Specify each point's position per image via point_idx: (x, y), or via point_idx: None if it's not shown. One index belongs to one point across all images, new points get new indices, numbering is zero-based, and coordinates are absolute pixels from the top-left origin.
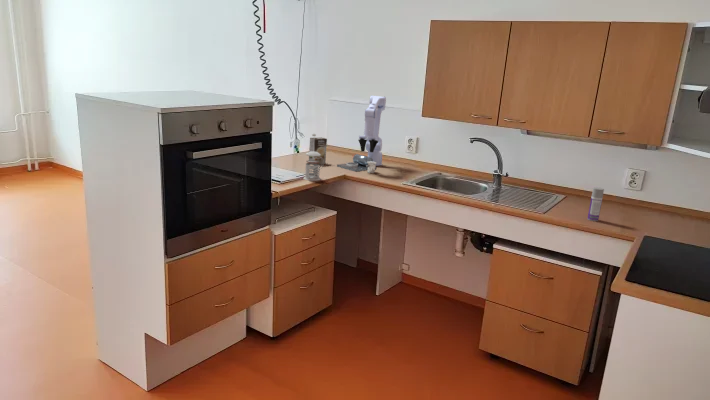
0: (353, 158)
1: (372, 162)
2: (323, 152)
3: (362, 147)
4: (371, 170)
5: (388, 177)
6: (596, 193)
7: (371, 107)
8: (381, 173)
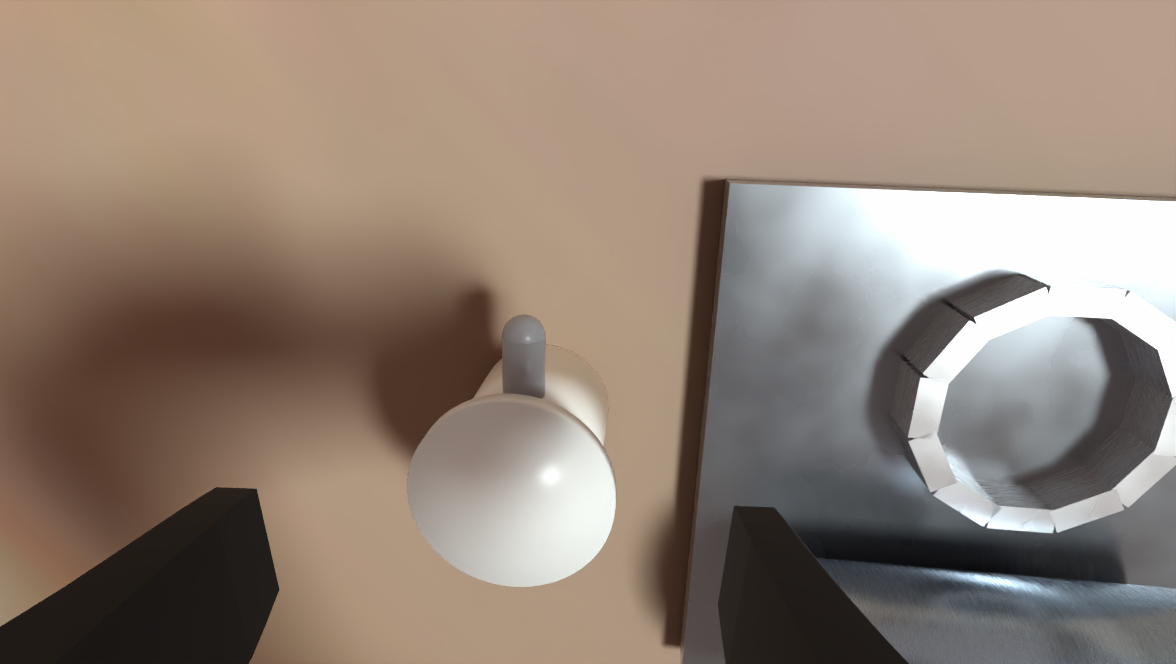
0: None
1: (496, 505)
2: None
3: (773, 651)
4: (487, 378)
5: (118, 345)
6: None
7: None
8: (391, 470)
